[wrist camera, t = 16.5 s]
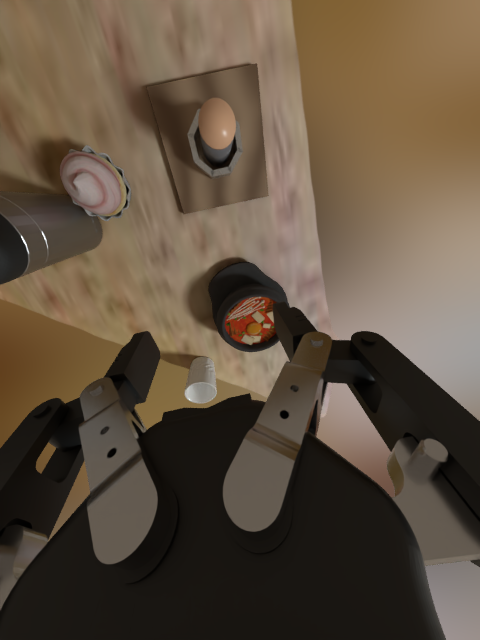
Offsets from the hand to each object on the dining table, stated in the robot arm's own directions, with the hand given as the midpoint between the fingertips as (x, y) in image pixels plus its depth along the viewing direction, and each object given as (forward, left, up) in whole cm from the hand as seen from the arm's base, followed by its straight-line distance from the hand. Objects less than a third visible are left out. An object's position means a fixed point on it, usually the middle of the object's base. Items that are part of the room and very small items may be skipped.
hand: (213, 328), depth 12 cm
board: (+4, +14, -32) cm, 35 cm away
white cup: (-12, -32, -32) cm, 47 cm away
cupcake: (-15, +12, -32) cm, 38 cm away
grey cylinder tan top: (+4, +14, -31) cm, 34 cm away
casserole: (+5, -17, -32) cm, 37 cm away
